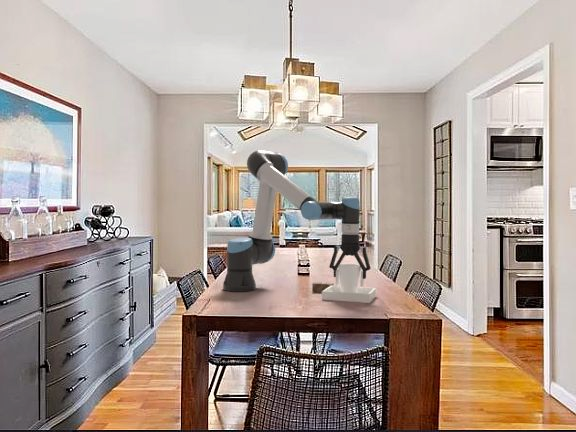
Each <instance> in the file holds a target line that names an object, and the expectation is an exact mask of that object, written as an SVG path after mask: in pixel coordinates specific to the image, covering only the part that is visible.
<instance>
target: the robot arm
mask: <svg viewBox="0 0 576 432" xmlns="http://www.w3.org/2000/svg"><path fill="white" fill-rule="evenodd" d="M246 166H247V170H248V172H249V173H250V174H251V175H252V176H254V178H255V179H257V181H258V182H259V185H258V191H257V199H256V204H255V206H256V207H255V212H254V217H253V225H252V231H251V232H250V233H249V234H248V237H236V238H232V239H230V240H229V241H227V247H226V275H225V278H224V280H223V283H222V290H223V291H227V292H238V293H239V292H240V293H241V292H243V293H244V292H251V291H255V290H257V284H256V280H255V278H254V274H253V266H254V265H262V264H265V263H268V262H270V261H272V259H273V258H274V256H275V254H276V245H274V241H273V236H272V235H271V230H272V229H271V228H272V224H273V223H272V222H273V217H274V212H275V211H274V209H275V203H276V197H277V193H278V194H279V195H280V196H282V197H283V198H284V199H285V200H287V201H288V202H289V203H290V204H292V205H293V206H294V207H295V208H297V209H298V210H299V211H300V213H301V216H302V217H303V218H304V219H305V220H308V221H317V220H319V221H320V220H341V233H342V234H341V237H340V238H341V241H340V242H341V244H340V245H334V246H333V254H332V256H331V260H330V263H329V266H328V267H329V268H330V269H332V270H333V277H334V278H335V286H340V276H339V271H338V265H340V264H341V263H343V262H342V261H343V260H344V258H345V257H346V256H351V257H352V256H353V257H354V258H355V259H356V261H357V263H358V265H360V267H361V271H360V287H364V282H365V281H364V280H366V279H367V271H370V270H371V264H370V261H369V257H368V253H367V246H360V212H361V211H360V210H361V205H360V204H361V203H360V199H359V198H358V197H343V198H342V199H341V201H318V200H316V199H315V198H313V196H312V195H310V194H309V193H307V192H306V191H305V190H303V188H301V187H300V186H298V185H297V184H296V183H295V182H293V181H292V180H291V179H289V178H288V177H287V176H286V175H287V173H288V170H289V163H288V160H287V158H286V157H285V155H283V154H282V153H279V152H276V151H268V150H262V149H259V150H255V151H253V152H252V153H250V155H249V156H248V158H247V159H246ZM340 250H341V252H342V253H341V254H340V256H339V258H338V260H337V261H336V259H337V256H338V253H339V251H340ZM359 252H362V256H363V260H364V262H363V260H362V258H361V256H360V254H359ZM364 263H365V264H364Z"/></svg>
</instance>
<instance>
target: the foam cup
mask: <svg viewBox="0 0 576 432" xmlns="http://www.w3.org/2000/svg"><path fill="white" fill-rule="evenodd" d="M338 271H339V285H340V286H341V292H348V293H357V290H358V287H359V282H360V281H359V280H360V276H361V271H362V268H361V267H360V265H359V264H355V263H342V264H341V263H340V265H338Z"/></svg>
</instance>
